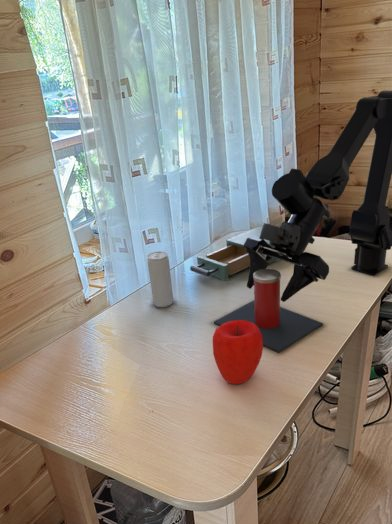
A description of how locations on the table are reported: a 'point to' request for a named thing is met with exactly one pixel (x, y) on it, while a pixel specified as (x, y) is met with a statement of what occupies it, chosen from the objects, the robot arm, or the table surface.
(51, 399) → the table surface
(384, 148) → the robot arm
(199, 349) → the table surface
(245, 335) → the apple
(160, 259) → the beverage can
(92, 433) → the table surface
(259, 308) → the tea tin
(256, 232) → the cabinet
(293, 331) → the mat
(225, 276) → the drawer
